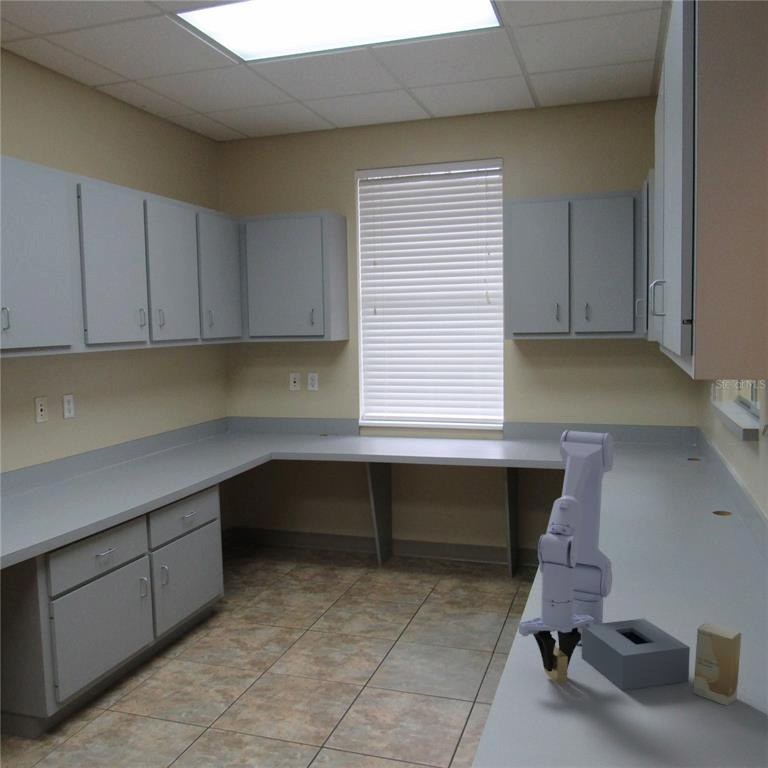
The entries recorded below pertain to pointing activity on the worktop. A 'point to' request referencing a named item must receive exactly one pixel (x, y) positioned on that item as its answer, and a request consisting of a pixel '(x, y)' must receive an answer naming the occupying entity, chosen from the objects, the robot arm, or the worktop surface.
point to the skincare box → (717, 663)
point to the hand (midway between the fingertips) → (555, 668)
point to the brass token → (559, 666)
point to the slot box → (635, 654)
